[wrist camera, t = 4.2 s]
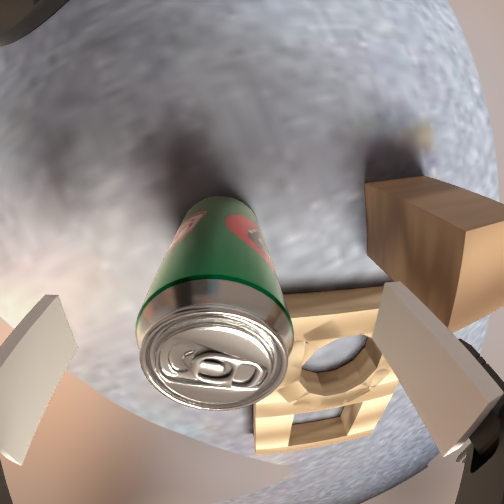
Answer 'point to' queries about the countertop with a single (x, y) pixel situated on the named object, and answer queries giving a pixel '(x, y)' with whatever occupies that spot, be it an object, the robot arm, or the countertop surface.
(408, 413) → the countertop surface
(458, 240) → the walnut square peg
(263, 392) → the soda can
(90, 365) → the countertop surface
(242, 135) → the countertop surface
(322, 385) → the socket board
